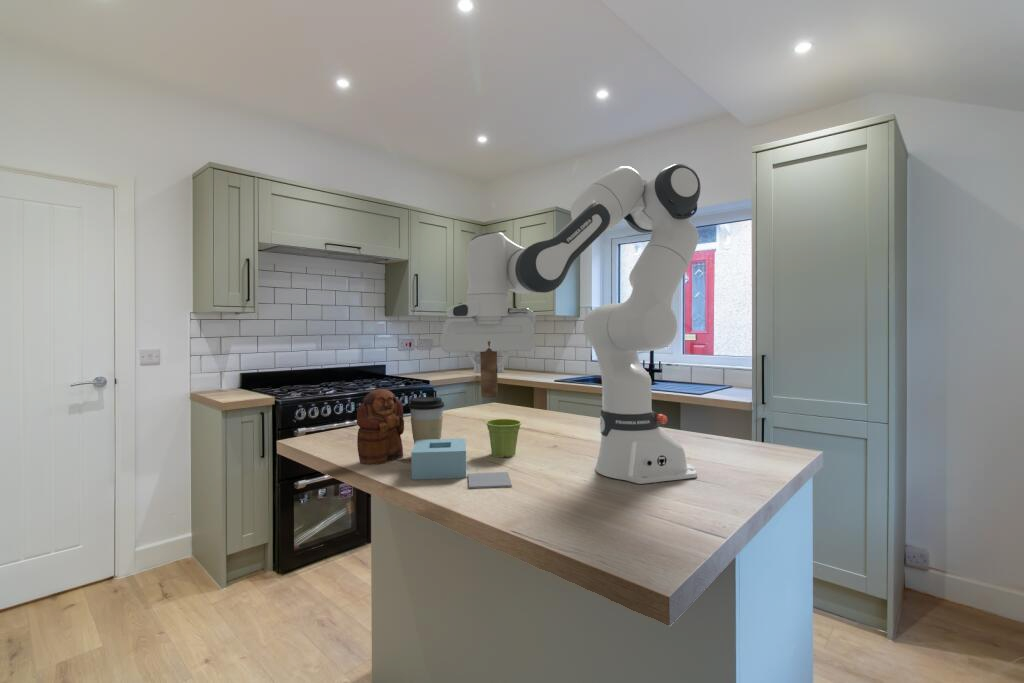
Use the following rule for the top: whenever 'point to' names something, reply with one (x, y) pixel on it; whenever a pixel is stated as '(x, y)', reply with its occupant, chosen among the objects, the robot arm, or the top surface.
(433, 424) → the coffee cup
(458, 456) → the socket
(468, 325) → the robot arm
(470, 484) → the pad
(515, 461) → the top surface
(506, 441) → the plant pot
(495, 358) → the peg
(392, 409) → the wooden figurine
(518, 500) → the top surface
